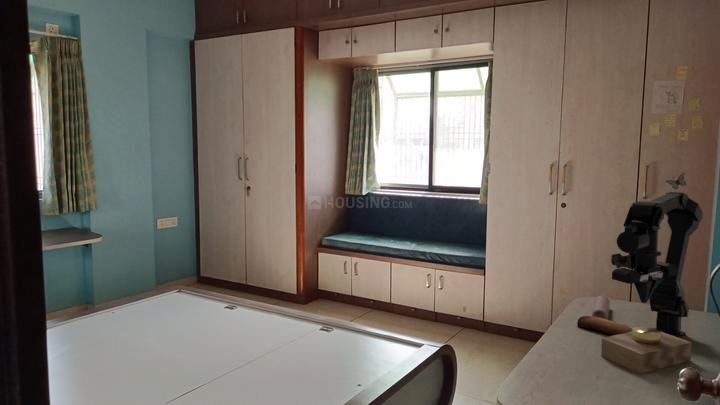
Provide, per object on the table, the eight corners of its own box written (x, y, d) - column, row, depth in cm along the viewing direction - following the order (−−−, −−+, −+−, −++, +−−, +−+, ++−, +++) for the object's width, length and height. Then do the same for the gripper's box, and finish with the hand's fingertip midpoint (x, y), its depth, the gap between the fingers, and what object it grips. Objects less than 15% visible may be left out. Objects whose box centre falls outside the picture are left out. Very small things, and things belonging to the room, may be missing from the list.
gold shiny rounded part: (643, 349, 138) (644, 325, 138) (665, 359, 132) (666, 333, 131) (625, 354, 136) (626, 328, 135) (647, 363, 130) (648, 337, 129)
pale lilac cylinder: (608, 311, 159) (610, 296, 175) (592, 308, 162) (596, 293, 177) (606, 325, 160) (608, 309, 176) (590, 322, 162) (594, 306, 178)
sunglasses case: (649, 336, 149) (644, 320, 146) (638, 353, 146) (633, 337, 143) (591, 320, 163) (585, 305, 161) (580, 335, 160) (574, 320, 158)
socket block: (649, 344, 143) (649, 327, 142) (690, 360, 132) (691, 342, 131) (601, 355, 136) (601, 338, 136) (640, 373, 125) (641, 354, 125)
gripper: (643, 239, 149) (641, 290, 151) (596, 246, 142) (595, 299, 144) (679, 245, 139) (677, 300, 141) (630, 253, 132) (629, 311, 134)
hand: (643, 302), depth 140 cm, fingers closed
